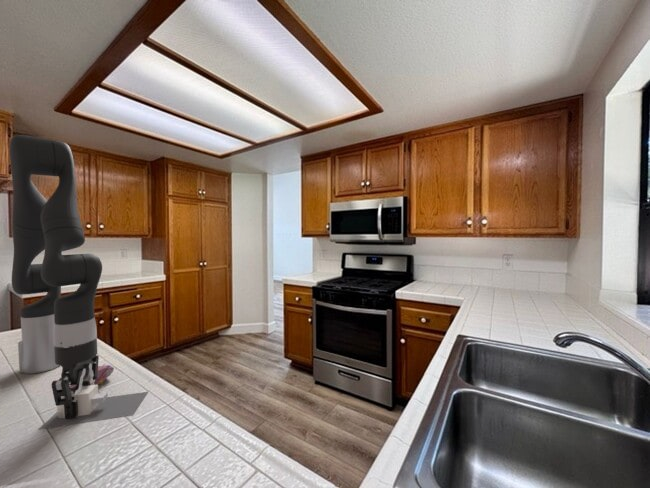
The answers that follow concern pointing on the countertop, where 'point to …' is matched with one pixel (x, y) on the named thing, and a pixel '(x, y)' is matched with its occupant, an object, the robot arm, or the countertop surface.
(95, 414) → the rubber mat
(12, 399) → the countertop surface
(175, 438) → the countertop surface
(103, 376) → the video game controller
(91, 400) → the plug block
